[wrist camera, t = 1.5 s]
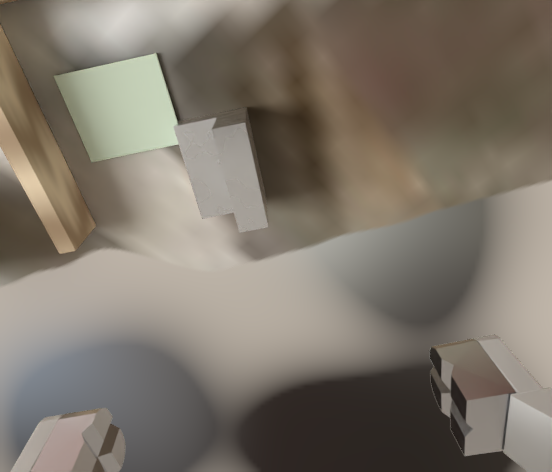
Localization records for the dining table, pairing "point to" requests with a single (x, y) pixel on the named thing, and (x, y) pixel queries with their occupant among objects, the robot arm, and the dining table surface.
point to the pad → (120, 107)
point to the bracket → (224, 167)
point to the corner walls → (39, 157)
